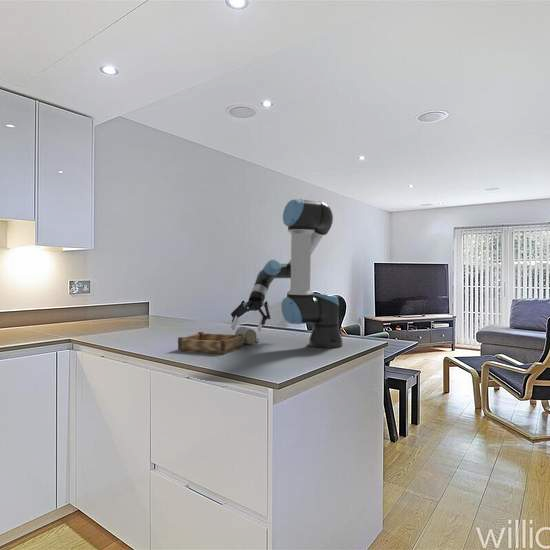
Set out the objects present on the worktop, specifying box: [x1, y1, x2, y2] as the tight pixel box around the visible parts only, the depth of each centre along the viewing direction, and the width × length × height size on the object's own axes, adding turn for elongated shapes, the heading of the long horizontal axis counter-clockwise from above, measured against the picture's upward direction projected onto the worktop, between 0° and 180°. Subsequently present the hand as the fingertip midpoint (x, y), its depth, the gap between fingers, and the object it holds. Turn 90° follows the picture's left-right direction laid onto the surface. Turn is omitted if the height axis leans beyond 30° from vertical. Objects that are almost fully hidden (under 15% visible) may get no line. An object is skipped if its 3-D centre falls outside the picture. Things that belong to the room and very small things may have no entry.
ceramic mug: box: [234, 326, 260, 345], centre depth 186 cm, size 11×8×8 cm
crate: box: [177, 331, 244, 355], centre depth 173 cm, size 22×18×6 cm
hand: (245, 329), depth 187 cm, fingers open, 13 cm apart
